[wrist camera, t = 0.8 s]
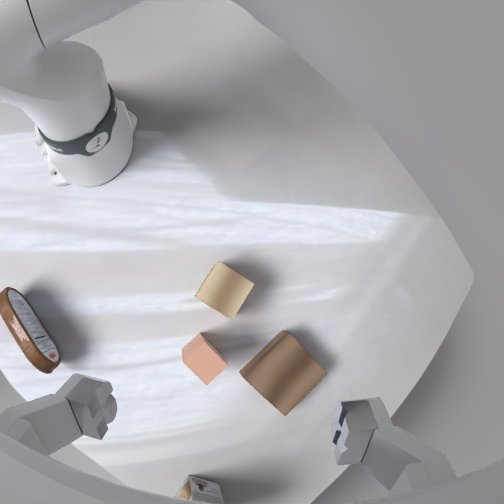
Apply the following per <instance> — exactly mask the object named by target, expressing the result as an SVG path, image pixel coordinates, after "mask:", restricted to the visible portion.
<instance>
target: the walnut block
mask: <svg viewBox="0 0 504 504" xmlns="http://www.w3.org/2000/svg"><path fill="white" fill-rule="evenodd" d="M239 373H240V374H241V375H242V377H243V378H244V379H245V380H246V381H247V382H248V383H249V384H250V385H251V386H253V387H254V388H255V389H256V390H257V391H258V392H259V393H260V394H261V395H262V396H263V397H264V398H266V399H267V400H268V401H269V402H270V403H271V404H272V405H273V406H274V407H276V408H277V409H278V410H279V411H280V412H281V413H282V414H283V415H285V416H286V415H287V414H288V413H289V412H290V411H291V410H292V409H293V408H294V407H295V406H296V405H297V404H298V403H299V402H300V401H301V400H302V399H303V398H304V397H305V396H306V395H307V394H308V393H309V392H310V391H311V390H312V389H313V388H314V387H315V386H316V385H317V384H318V383H319V382H320V381H321V380H322V379H323V378H324V377H325V376H326V374H327V372H326V371H325V370H324V369H323V368H322V367H321V366H320V365H319V364H318V363H317V362H316V361H315V360H314V359H313V358H312V356H311V355H310V354H309V353H308V352H307V351H306V350H305V349H304V348H303V347H302V346H301V345H300V344H299V343H298V341H297V340H296V339H295V338H294V337H293V336H292V335H291V334H290V333H287V332H284V331H281V332H280V333H279V334H278V335H277V336H276V337H275V338H274V339H273V340H272V341H271V342H270V343H269V344H268V345H267V346H266V347H265V348H264V349H263V350H262V351H261V352H260V353H259V354H258V355H257V356H255V357H254V358H253V359H252V360H251V361H250V362H249V363H248V364H247V365H246V366H245V367H244V368H243V369H242V370H241V371H240V372H239Z"/></svg>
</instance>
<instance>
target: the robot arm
mask: <svg viewBox="0 0 504 504" xmlns="http://www.w3.org/2000/svg"><path fill="white" fill-rule="evenodd" d="M142 1H144V0H0V101H1V102H5V103H9V104H12V105H15V106H17V107H19V108H21V109H22V110H23V111H25V112H26V113H27V115H28V116H29V117H30V118H31V119H32V120H33V121H34V122H35V124H36V125H35V130H36V133H37V134H36V135H35V136H34V139H35V141H36V143H37V145H38V146H40V147H41V152H42V154H43V157H44V160H45V163H46V166H47V169H48V172H49V174H50V177H51V180H52V182H53V184H54V185H56V186H63V185H68V184H72V185H76V186H80V187H94V186H98V185H101V184H104V183H106V182H108V181H110V180H111V179H113V178H114V177H115V176H116V175H118V174H119V173H120V172H121V171H122V169H123V168H124V167H125V165H126V164H127V162H128V160H129V158H130V156H131V153H132V148H133V133H134V131H135V128H136V126H137V123H138V119H137V117H136V116H135V115H134V114H133V113H131V112H130V111H128V110H127V109H126V106H125V104H124V102H123V101H119V100H118V99H117V98H115V95H114V92H113V90H112V88H111V87H110V85H109V84H108V83H107V79H106V75H105V71H104V67H103V62H102V59H101V57H100V55H99V54H98V53H97V52H96V51H95V50H94V49H93V48H91V47H89V46H87V45H85V44H83V43H80V42H76V41H62V40H64V39H66V38H68V37H70V36H72V35H74V34H77V33H79V32H81V31H83V30H85V29H87V28H90V27H92V26H94V25H97V24H99V23H102V22H104V21H107V20H109V19H110V18H112V17H114V16H116V15H118V14H120V13H122V12H123V11H125V10H127V9H129V8H131V7H133V6H135V5H136V4H138V3H140V2H142ZM60 41H61V42H60ZM56 172H57V174H56V175H55V173H56ZM112 391H113V389H112V386H111V383H110V382H108V381H105V380H101V379H97V378H93V377H90V376H85V375H82V374H78V373H75V374H73V375H72V376H71V377H70V378H69V379H68V380H67V382H66V383H65V384H64V385H63V386H62V387H61V388H60V389H59V390H58V391H57V392H56V393H55V395H53V394H50V395H47V396H44V397H41V398H38V399H35V400H32V401H29V402H26V403H23V404H20V405H17V406H14V407H11V408H8V409H6V410H5V411H3V413H2V414H1V415H0V504H212V503H204V502H197V501H191V500H185V499H179V498H174V497H169V496H164V495H160V494H155V493H151V492H147V491H143V490H139V489H135V488H132V487H128V486H125V485H121V484H118V483H115V482H111V481H108V480H105V479H102V478H99V477H96V476H94V475H91V474H88V473H86V472H83V471H80V470H78V469H75V468H73V467H70V466H68V465H66V464H63V463H61V462H59V461H56V460H54V459H52V458H50V456H49V455H50V454H52V453H54V452H55V451H57V450H59V449H60V448H62V447H64V446H66V445H67V444H69V443H71V442H73V441H74V440H76V439H78V438H79V437H81V436H83V435H86V436H89V437H93V438H96V439H100V440H102V438H103V436H104V435H105V433H106V432H107V430H108V426H107V424H108V423H110V422H112V421H113V420H114V418H115V416H116V412H117V403H116V399H115V398H114V397H113V396H112V395H111V392H112ZM336 413H337V415H336V416H335V417H334V418H333V422H332V430H331V434H332V441H333V443H334V444H335V445H336V448H335V451H334V452H335V457H336V462H337V465H345V464H356V463H361V465H362V466H363V467H364V468H365V469H366V470H367V471H368V472H369V473H370V474H371V475H372V476H374V477H375V478H376V479H377V480H378V481H379V482H380V483H381V484H382V485H383V486H384V487H385V488H386V489H387V490H389V491H390V492H389V494H388V495H387V496H386V497H385V498H380V499H374V500H369V501H362V502H355V503H348V504H504V459H502V460H500V461H497V462H496V463H493V464H491V465H489V466H486V467H484V468H481V469H479V470H477V471H474V472H472V473H469V474H466V475H464V476H461V477H458V478H457V477H456V475H455V473H454V471H453V469H452V467H451V465H450V463H449V461H448V459H447V457H446V455H445V454H443V453H441V452H440V451H438V450H436V449H435V448H433V447H431V446H429V445H428V444H426V443H424V442H423V441H421V440H419V439H418V438H416V437H414V436H413V435H411V434H409V433H408V432H406V431H404V430H403V429H401V428H399V427H398V426H396V427H394V426H393V424H392V422H391V419H390V417H389V415H388V413H387V410H386V408H385V406H384V404H383V402H382V400H381V398H379V397H377V398H368V399H359V400H345V401H338V403H337V406H336ZM82 434H83V435H82Z"/></svg>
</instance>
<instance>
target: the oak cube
mask: <svg viewBox="0 0 504 504" xmlns="http://www.w3.org/2000/svg"><path fill="white" fill-rule="evenodd" d="M253 286H254V284H253V283H252V282H250V281H249V280H247V279H246V278H244V277H243V276H241V275H240V274H238V273H237V272H235V271H234V270H232V269H231V268H229V267H228V266H226V265H225V264H223V263H222V262H220V261H219V262H218V263H216V264H215V265H214V266H213V268H212V269H211V271H210V272H209V274H208V276H207V277H206V279H205V280H204V282H203V283H202V285H201V286H200V288H199V290H198V291H197V293H196V294H195V297H196V298H198V299H199V300H201V301H202V302H204V303H206V304H207V305H209V306H210V307H212V308H213V309H215V310H217V311H218V312H220V313H221V314H223V315H225V316H226V317H228V318H230V319H232V320H233V318H234V316H235V315H236V313H237V312H238V310H239V308H240V307H241V305H242V304H243V302H244V300H245V299H246V297H247V295H248V294H249V292H250V291H251V289H252V287H253Z"/></svg>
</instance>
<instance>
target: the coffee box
mask: <svg viewBox="0 0 504 504" xmlns="http://www.w3.org/2000/svg"><path fill="white" fill-rule="evenodd" d="M175 498H179V499H185V500H191V501H197V502H204V503H212V504H225V503H224V500H223V496H222V493H221V490H220V487H219V484H218V483H214V482H210V481H207V480H204V479H200V478H197V477H194V476H191V475H188V477H187V478H186V480H185V481H184V483H183V485H182V486H181V488H180V490H179V491H178V493H177V495H176V496H175Z"/></svg>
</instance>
